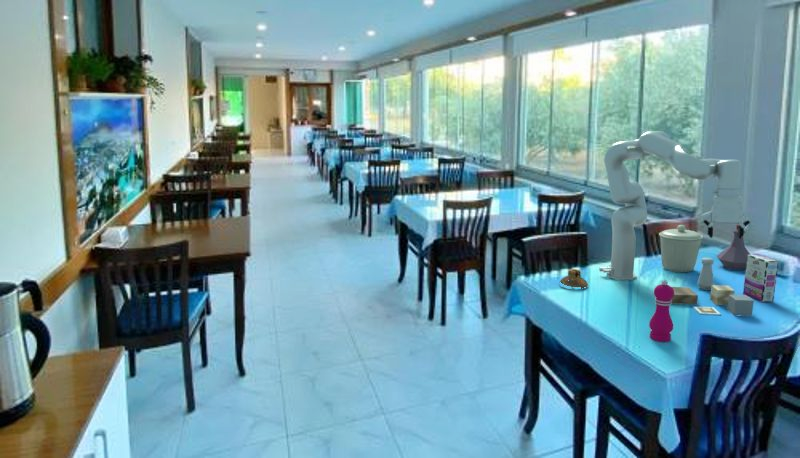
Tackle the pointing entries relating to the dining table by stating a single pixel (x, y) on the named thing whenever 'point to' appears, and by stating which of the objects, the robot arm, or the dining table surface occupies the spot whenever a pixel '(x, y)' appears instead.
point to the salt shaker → (706, 274)
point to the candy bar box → (760, 278)
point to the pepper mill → (662, 313)
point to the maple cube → (720, 294)
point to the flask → (735, 253)
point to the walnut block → (684, 296)
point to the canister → (679, 249)
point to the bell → (574, 279)
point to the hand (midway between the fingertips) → (725, 237)
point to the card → (707, 310)
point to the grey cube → (740, 305)
